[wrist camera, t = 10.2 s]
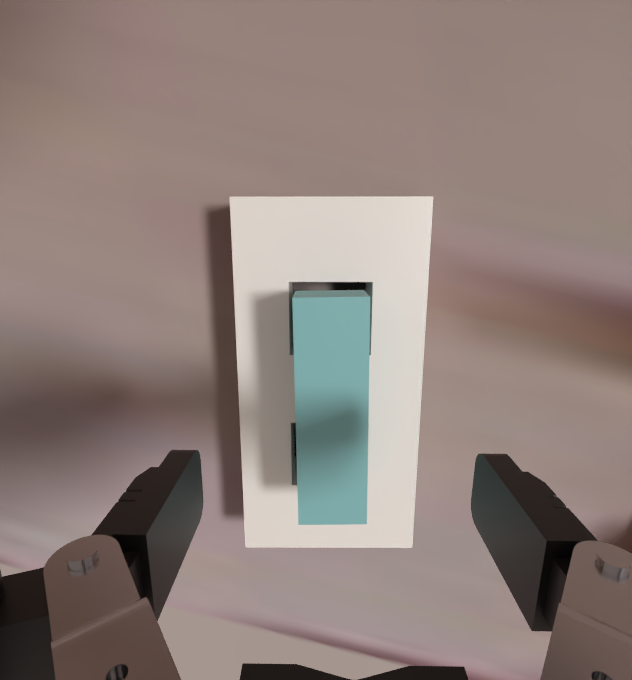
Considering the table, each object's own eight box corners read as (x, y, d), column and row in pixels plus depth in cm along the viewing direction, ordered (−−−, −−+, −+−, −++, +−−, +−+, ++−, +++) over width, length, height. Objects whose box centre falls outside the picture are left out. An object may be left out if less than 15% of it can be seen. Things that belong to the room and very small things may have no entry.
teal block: (299, 282, 22) (292, 297, 16) (355, 281, 22) (370, 296, 16) (303, 453, 24) (298, 525, 18) (354, 452, 24) (366, 524, 18)
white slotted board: (241, 203, 21) (229, 196, 18) (417, 203, 21) (433, 196, 18) (253, 512, 25) (245, 547, 22) (401, 512, 25) (412, 547, 22)
